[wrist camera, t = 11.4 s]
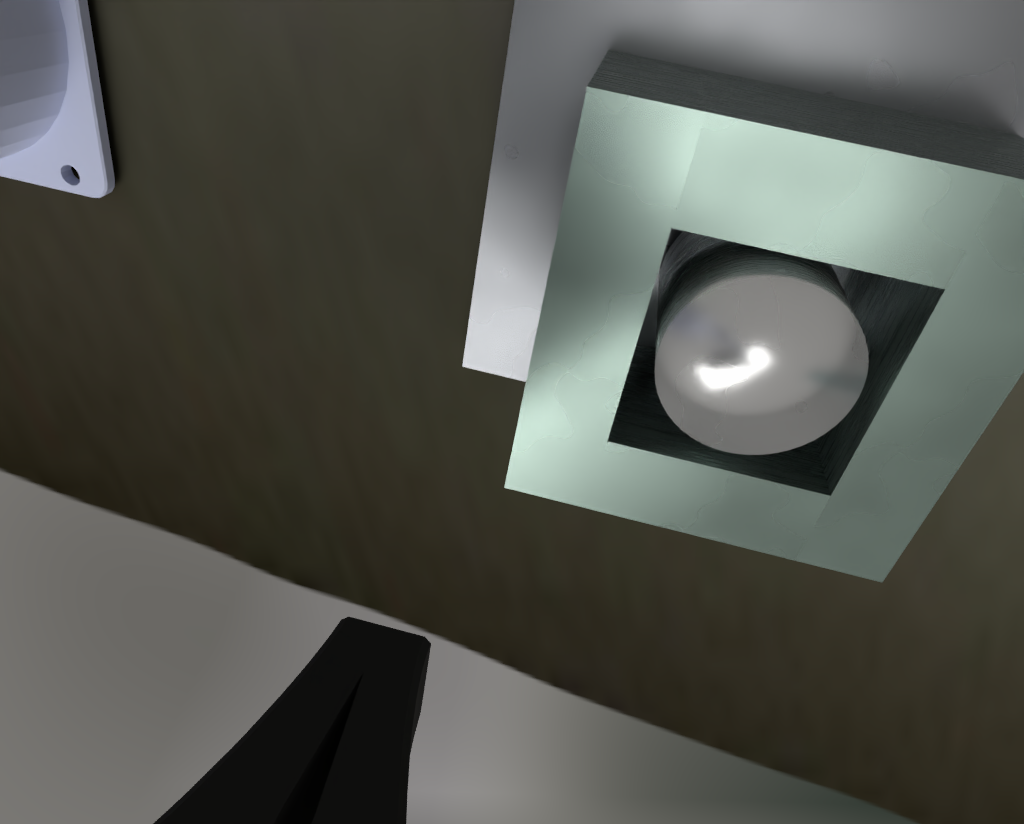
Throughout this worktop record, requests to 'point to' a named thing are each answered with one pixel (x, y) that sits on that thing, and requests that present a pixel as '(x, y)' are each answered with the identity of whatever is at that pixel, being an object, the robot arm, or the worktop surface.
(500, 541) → the worktop surface
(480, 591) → the worktop surface
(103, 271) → the worktop surface
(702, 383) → the press pin
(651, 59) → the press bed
